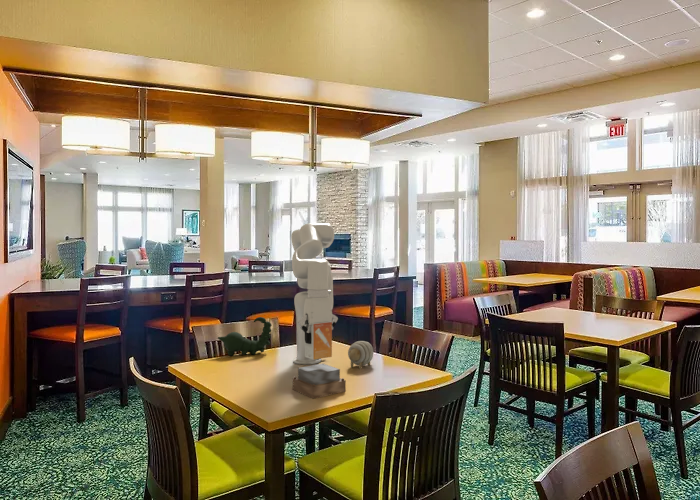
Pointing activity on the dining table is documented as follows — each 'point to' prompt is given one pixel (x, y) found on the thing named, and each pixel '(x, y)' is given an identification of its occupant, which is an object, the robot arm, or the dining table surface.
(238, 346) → the toy figurine
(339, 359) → the dining table surface
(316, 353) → the small box
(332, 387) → the grey and wooden block
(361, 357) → the toy sheep
